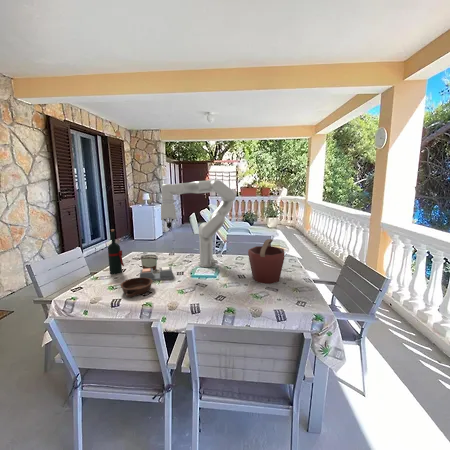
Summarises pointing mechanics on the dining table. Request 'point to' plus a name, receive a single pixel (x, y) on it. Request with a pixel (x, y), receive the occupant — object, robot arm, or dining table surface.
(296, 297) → the dining table surface
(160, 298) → the dining table surface
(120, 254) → the wine bottle
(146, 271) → the key terracotta
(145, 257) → the grey arched window
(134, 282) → the dish
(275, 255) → the bucket
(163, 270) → the key cream
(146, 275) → the key panel
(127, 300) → the dining table surface
